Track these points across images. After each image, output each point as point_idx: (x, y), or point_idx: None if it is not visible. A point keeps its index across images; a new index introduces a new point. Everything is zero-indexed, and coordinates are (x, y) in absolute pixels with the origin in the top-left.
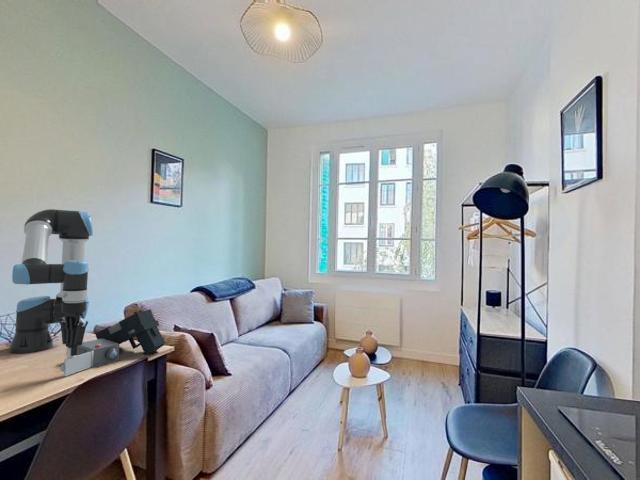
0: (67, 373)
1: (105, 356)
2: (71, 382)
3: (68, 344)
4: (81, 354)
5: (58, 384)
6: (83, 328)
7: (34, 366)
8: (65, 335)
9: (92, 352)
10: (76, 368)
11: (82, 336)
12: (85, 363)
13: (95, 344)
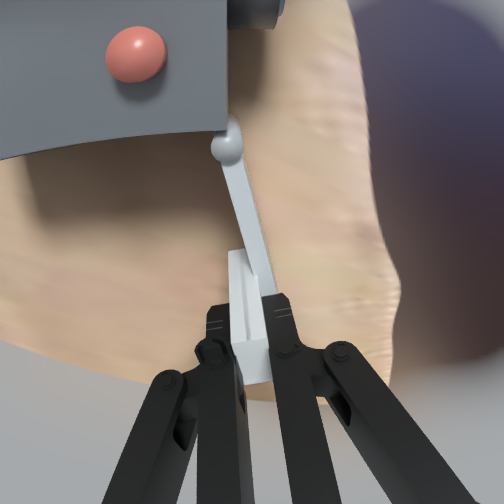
0: (273, 270)
1: (238, 28)
2: (359, 273)
3: (245, 397)
4: (250, 240)
5: (331, 308)
6: (457, 497)
7: (15, 289)
8: (179, 466)
9: (242, 143)
10: (263, 231)
11: (403, 419)
12: (249, 178)
13: (49, 55)
